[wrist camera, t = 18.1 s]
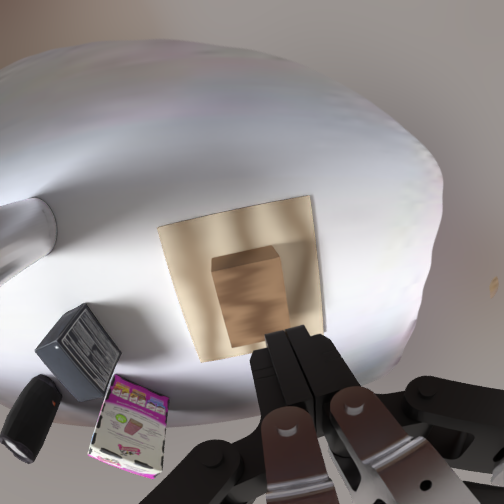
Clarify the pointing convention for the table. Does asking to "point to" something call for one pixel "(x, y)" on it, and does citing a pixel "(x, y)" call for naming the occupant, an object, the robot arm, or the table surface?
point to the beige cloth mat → (237, 240)
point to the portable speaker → (31, 419)
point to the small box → (80, 354)
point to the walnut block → (251, 294)
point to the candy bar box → (131, 429)
